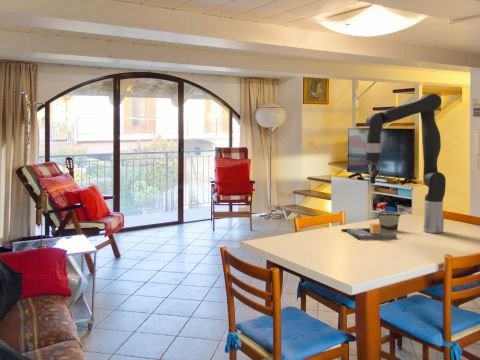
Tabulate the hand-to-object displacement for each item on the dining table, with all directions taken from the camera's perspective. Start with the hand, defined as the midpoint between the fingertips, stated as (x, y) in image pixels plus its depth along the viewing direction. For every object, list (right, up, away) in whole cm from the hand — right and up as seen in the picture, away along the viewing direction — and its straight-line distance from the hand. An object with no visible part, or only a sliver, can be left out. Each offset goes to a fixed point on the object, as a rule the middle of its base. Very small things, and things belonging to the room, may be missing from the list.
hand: (372, 183), depth 256 cm
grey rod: (-10, -27, +6) cm, 29 cm away
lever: (-1, -28, -9) cm, 30 cm away
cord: (-12, -28, -6) cm, 31 cm away
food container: (+11, -26, +10) cm, 30 cm away
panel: (-2, -28, -4) cm, 28 cm away
